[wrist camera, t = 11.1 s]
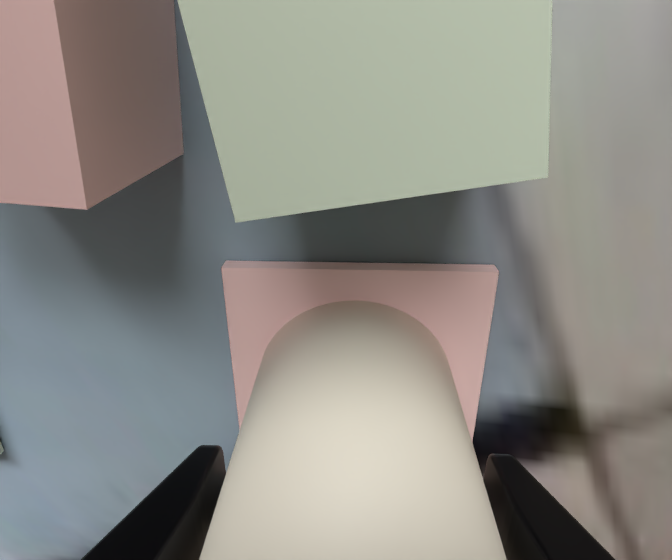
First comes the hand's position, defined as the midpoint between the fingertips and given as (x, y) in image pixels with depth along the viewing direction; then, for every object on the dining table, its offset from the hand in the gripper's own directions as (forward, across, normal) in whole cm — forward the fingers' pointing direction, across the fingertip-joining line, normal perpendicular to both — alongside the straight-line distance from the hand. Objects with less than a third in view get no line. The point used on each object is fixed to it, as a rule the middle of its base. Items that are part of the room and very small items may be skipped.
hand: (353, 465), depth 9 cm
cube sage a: (+3, 0, -8) cm, 8 cm away
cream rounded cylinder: (+2, 0, 0) cm, 2 cm away
